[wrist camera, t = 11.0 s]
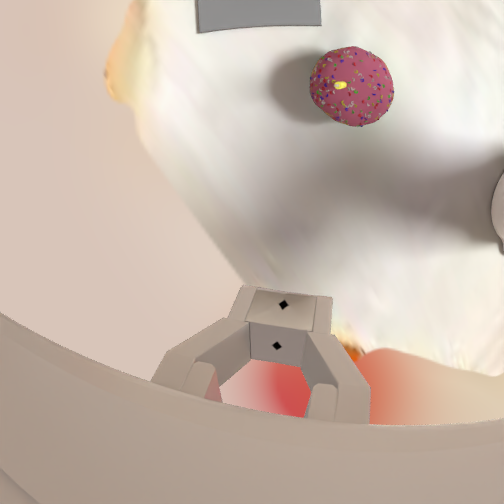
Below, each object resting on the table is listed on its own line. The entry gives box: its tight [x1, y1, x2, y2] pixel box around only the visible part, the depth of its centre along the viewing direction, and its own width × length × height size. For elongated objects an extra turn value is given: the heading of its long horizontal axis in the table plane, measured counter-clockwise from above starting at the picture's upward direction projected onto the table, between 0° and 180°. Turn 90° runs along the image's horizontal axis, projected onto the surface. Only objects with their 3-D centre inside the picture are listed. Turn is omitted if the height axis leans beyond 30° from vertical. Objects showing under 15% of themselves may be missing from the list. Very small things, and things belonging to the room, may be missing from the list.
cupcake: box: [310, 46, 394, 127], centre depth 24 cm, size 9×8×12 cm
